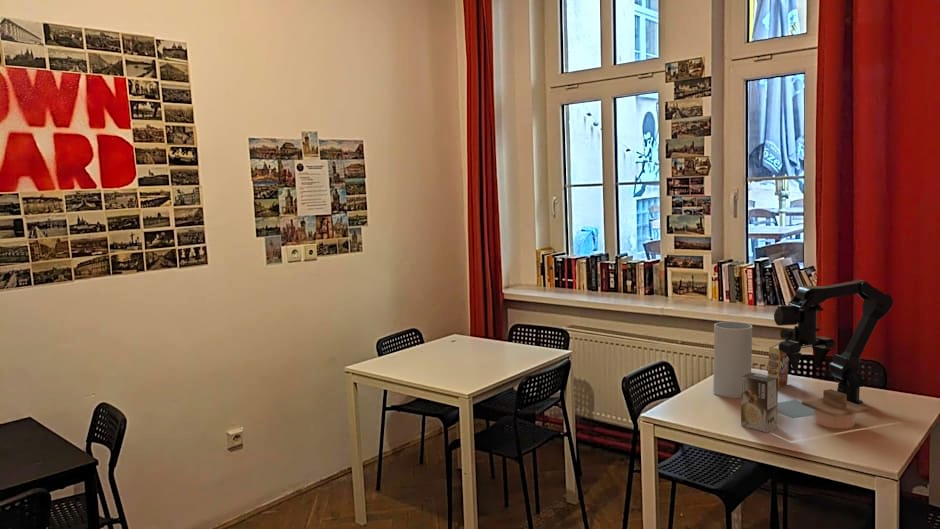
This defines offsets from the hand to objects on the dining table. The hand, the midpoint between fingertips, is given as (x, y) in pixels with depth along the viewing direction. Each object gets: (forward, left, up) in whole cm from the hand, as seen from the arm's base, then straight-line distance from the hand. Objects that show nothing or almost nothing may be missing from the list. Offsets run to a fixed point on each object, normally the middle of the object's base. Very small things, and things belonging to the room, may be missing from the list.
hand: (805, 369), depth 238 cm
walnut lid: (+6, +18, -7) cm, 20 cm away
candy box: (-6, -20, -12) cm, 24 cm away
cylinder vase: (+15, -19, -12) cm, 27 cm away
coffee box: (+29, +11, -12) cm, 33 cm away
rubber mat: (+8, +3, -12) cm, 15 cm away
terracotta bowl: (+6, +18, -12) cm, 22 cm away
